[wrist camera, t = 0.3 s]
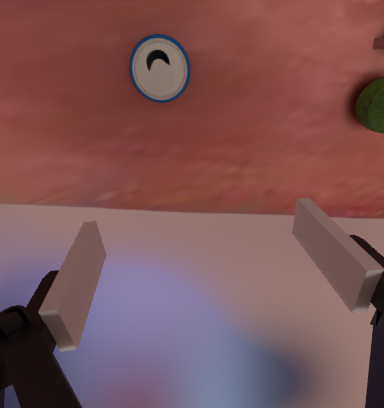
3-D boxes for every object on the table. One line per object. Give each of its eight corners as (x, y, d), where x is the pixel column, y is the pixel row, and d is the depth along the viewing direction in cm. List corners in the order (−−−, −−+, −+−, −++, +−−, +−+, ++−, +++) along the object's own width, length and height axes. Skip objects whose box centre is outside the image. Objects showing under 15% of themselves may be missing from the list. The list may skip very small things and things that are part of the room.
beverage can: (177, 36, 35) (182, 24, 24) (188, 86, 38) (197, 95, 27) (132, 49, 35) (117, 42, 24) (146, 98, 38) (140, 110, 28)
